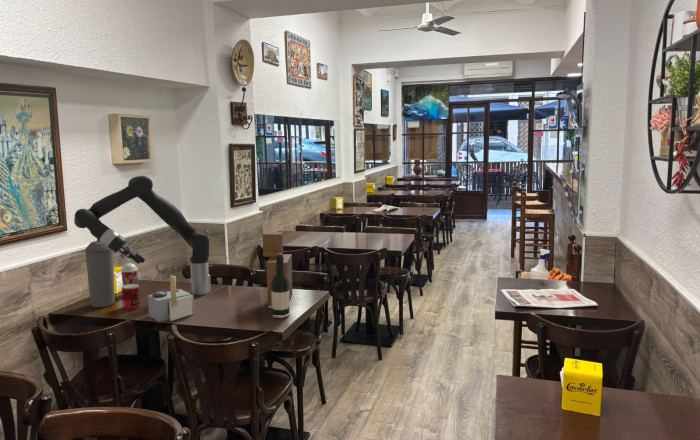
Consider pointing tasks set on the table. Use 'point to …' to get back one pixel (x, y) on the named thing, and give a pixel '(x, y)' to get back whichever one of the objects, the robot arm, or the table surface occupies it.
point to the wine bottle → (280, 289)
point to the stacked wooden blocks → (271, 249)
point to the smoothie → (129, 273)
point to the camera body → (162, 304)
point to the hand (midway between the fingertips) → (142, 261)
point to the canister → (100, 274)
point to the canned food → (131, 296)
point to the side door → (179, 303)
